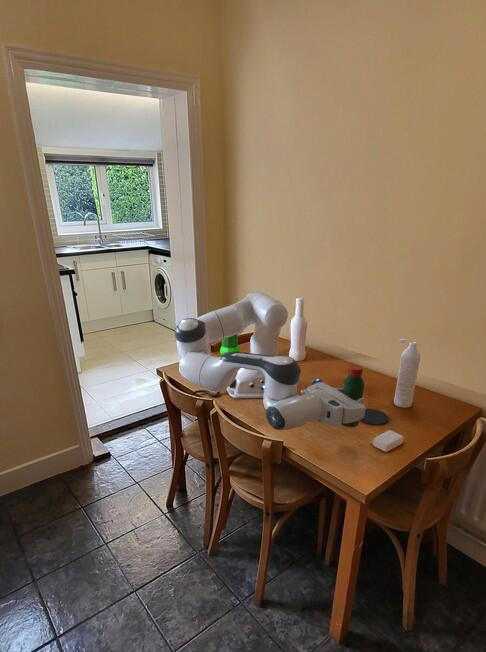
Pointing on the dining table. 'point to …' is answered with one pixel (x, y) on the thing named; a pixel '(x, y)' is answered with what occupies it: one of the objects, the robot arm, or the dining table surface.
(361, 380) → the green bottle
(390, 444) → the soap
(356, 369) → the cap
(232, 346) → the plastic bottle
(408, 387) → the water bottle
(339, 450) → the dining table surface
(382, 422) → the coaster
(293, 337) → the bottle
